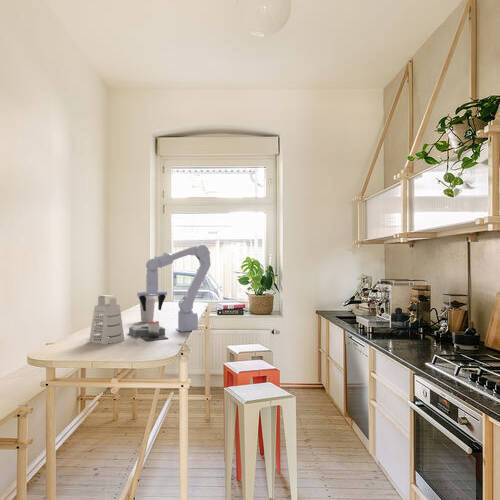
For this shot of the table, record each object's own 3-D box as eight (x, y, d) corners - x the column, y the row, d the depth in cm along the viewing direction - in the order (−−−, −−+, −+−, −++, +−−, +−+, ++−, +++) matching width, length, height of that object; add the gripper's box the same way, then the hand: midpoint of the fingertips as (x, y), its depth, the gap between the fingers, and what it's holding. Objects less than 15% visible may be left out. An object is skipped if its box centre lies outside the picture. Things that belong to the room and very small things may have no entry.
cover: (157, 335, 195) (156, 320, 195) (160, 337, 191) (160, 321, 191) (146, 336, 193) (146, 321, 193) (150, 338, 189) (150, 322, 189)
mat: (161, 335, 198) (161, 334, 198) (168, 339, 189) (168, 338, 189) (140, 337, 193) (140, 336, 193) (146, 341, 184) (146, 340, 184)
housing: (157, 330, 210) (157, 323, 210) (165, 334, 200) (165, 327, 200) (129, 333, 203) (129, 326, 203) (135, 337, 193) (135, 330, 193)
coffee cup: (135, 322, 237) (135, 295, 237) (144, 319, 246) (144, 294, 246) (150, 323, 234) (150, 296, 234) (158, 320, 243) (159, 294, 243)
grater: (105, 344, 177) (105, 297, 178) (89, 341, 183) (89, 295, 183) (124, 340, 186) (124, 295, 187) (108, 337, 192) (108, 294, 192)
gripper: (139, 284, 201) (139, 312, 201) (169, 283, 208) (168, 310, 208) (136, 283, 207) (135, 310, 207) (164, 282, 214) (164, 308, 214)
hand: (152, 310), depth 208 cm, fingers open, 7 cm apart
